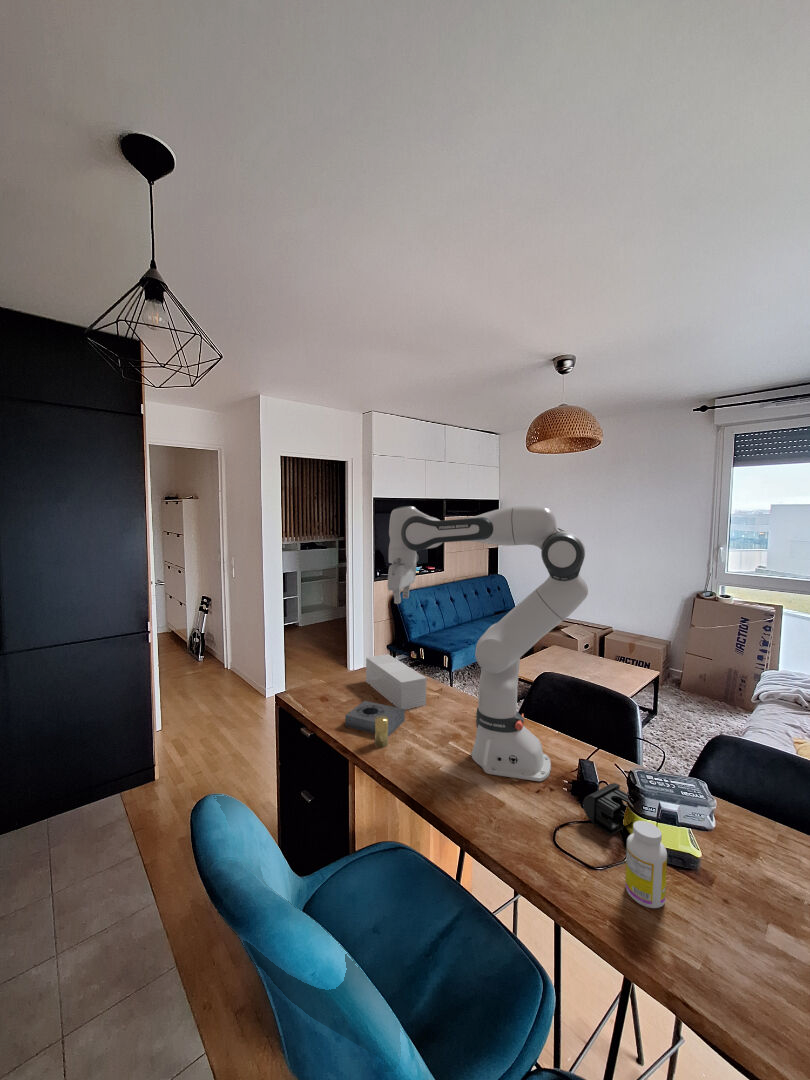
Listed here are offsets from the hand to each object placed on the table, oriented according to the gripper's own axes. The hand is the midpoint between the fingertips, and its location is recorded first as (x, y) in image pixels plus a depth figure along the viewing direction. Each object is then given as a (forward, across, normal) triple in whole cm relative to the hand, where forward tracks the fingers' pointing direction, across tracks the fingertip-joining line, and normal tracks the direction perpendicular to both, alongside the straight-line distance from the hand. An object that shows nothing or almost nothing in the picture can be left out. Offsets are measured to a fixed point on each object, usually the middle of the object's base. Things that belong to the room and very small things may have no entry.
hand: (401, 600), depth 139 cm
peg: (+44, -7, +4) cm, 45 cm away
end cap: (+44, -24, -58) cm, 77 cm away
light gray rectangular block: (+44, +33, +12) cm, 57 cm away
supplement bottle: (+44, -44, -61) cm, 87 cm away
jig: (+44, +6, +10) cm, 45 cm away
